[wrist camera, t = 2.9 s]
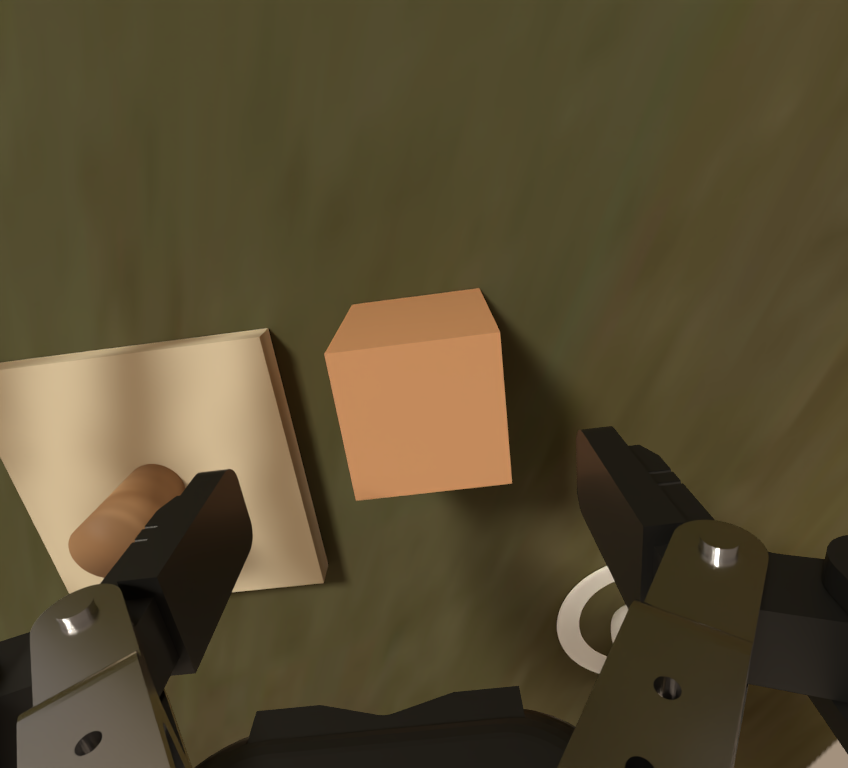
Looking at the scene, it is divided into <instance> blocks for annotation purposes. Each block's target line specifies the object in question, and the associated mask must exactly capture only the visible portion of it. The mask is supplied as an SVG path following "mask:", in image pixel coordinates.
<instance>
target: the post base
mask: <svg viewBox="0 0 848 768" xmlns="http://www.w3.org/2000/svg"><path fill="white" fill-rule="evenodd" d="M0 457H1V459H2V461H3V463H4V465H5V467H6V469H7V471H8V473H9V475H10V477H11V479H12V481H13V483H14V485H15V487H16V489H17V491H18V493H19V495H20V497H21V499H22V501H23V503H24V505H25V507H26V509H27V511H28V513H29V515H30V517H31V519H32V521H33V523H34V525H35V527H36V528H37V530H38V532H39V534H40V536H41V538H42V540H43V542H44V544H45V546H46V548H47V550H48V552H49V554H50V556H51V558H52V560H53V562H54V564H55V566H56V568H57V570H58V572H59V574H60V576H61V578H62V580H63V582H64V584H65V586H66V588H67V590H68V592H69V594H71V593H73V592H75V591H77V590H79V589H82V588H85V587H88V586H92V585H96V584H100V583H101V582H102V580H103V579H104V578H105V577H106V575H107V574H108V573H109V571H110V570H111V569H112V568H113V566H114V565H115V564H116V562H117V561H118V560H119V559H120V557H121V556H122V555H123V553H124V552H125V551H126V550H127V548H128V547H129V546H130V544H131V543H133V542H135V538H136V537H137V535H138V534H139V533H140V532H141V530H142V529H145V525H146V524H147V523H148V521H149V520H150V519H151V518H152V516H153V515H154V514H155V512H156V511H157V510H158V509H160V508H161V507H162V506H164V505H165V504H166V503H168V502H169V501H170V500H172V499H173V498H174V497H176V496H180V495H181V494H182V492H183V491H184V490H185V488H186V487H187V486H188V484H189V483H190V482H191V480H192V479H193V478H194V476H195V475H196V474H197V473H199V472H207V471H216V470H225V469H232V470H233V471H234V472H235V473H236V475H237V477H238V480H239V484H240V487H241V490H242V494H243V497H244V500H245V504H246V507H247V510H248V514H249V517H250V520H251V524H252V531H253V540H252V547H251V550H250V553H249V555H248V557H247V559H246V561H245V564H244V566H243V568H242V570H241V573H240V575H239V577H238V579H237V582H236V584H235V586H234V588H233V591H232V592H240V591H250V590H260V589H270V588H279V587H289V586H299V585H309V584H319V583H324V580H325V576H326V572H327V568H328V561H327V558H326V554H325V550H324V546H323V542H322V538H321V534H320V530H319V526H318V522H317V518H316V514H315V510H314V506H313V502H312V498H311V495H310V491H309V487H308V483H307V479H306V475H305V471H304V467H303V463H302V459H301V455H300V451H299V447H298V443H297V439H296V436H295V432H294V428H293V424H292V420H291V416H290V412H289V408H288V404H287V400H286V396H285V392H284V388H283V384H282V380H281V376H280V373H279V369H278V365H277V361H276V357H275V353H274V349H273V345H272V341H271V337H270V333H269V329H268V328H265V329H258V330H250V331H242V332H234V333H227V334H219V335H211V336H203V337H195V338H188V339H180V340H172V341H164V342H157V343H149V344H141V345H133V346H126V347H118V348H110V349H102V350H95V351H87V352H79V353H71V354H63V355H56V356H48V357H40V358H32V359H25V360H17V361H9V362H1V363H0Z"/></svg>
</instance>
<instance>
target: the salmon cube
mask: <svg viewBox="0 0 848 768" xmlns="http://www.w3.org/2000/svg"><path fill="white" fill-rule="evenodd" d="M324 355H325V359H326V364H327V368H328V373H329V378H330V382H331V387H332V392H333V396H334V401H335V405H336V410H337V415H338V419H339V424H340V429H341V433H342V438H343V443H344V447H345V452H346V456H347V461H348V466H349V470H350V475H351V480H352V484H353V489H354V493H355V498H356V501H358V500H367V499H377V498H386V497H395V496H404V495H413V494H422V493H431V492H440V491H449V490H458V489H467V488H476V487H486V486H495V485H504V484H512V476H511V463H510V450H509V438H508V425H507V412H506V400H505V387H504V374H503V362H502V349H501V336H500V331H499V329H498V326H497V324H496V322H495V320H494V318H493V316H492V314H491V312H490V310H489V307H488V305H487V303H486V301H485V299H484V297H483V295H482V293H481V291H480V288H476V289H469V290H461V291H453V292H446V293H438V294H430V295H423V296H415V297H407V298H399V299H392V300H384V301H376V302H369V303H361V304H353V305H352V306H351V308H350V310H349V311H348V313H347V315H346V317H345V318H344V320H343V322H342V324H341V325H340V327H339V329H338V331H337V333H336V334H335V336H334V338H333V340H332V341H331V343H330V345H329V347H328V349H327V350H326V352H325V354H324Z"/></svg>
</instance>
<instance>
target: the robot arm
mask: <svg viewBox="0 0 848 768" xmlns="http://www.w3.org/2000/svg"><path fill="white" fill-rule="evenodd" d="M576 455H577V494H578V501H579V505H580V509H581V512H582V515H583V517H584V519H585V521H586V523H587V525H588V527H589V530H590V532H591V534H592V536H593V538H594V540H595V542H596V544H597V546H598V548H599V550H600V552H601V554H602V556H603V558H604V560H605V562H606V564H607V567H608V569H609V571H610V573H611V575H612V577H613V579H614V581H615V583H616V585H617V587H618V589H619V591H620V593H621V595H622V597H623V599H624V602H625V604H626V606H627V608H628V611H627V614H626V616H625V618H624V620H623V623H622V625H621V627H620V629H619V631H618V634H617V636H616V638H615V640H614V643H613V645H612V647H611V649H610V651H609V654H608V656H607V658H606V660H605V663H604V665H603V667H602V669H601V671H600V674H599V676H598V678H597V680H596V683H595V685H594V687H593V689H592V691H591V694H590V696H589V698H588V700H587V703H586V705H585V707H584V709H583V712H582V714H581V716H580V718H579V720H578V723H577V725H576V727H575V726H573V725H571V724H570V723H568V722H565V721H563V720H561V719H558V718H556V717H554V716H551V715H548V714H544V713H541V712H537V711H533V710H527V709H523V705H522V700H521V695H520V690H519V686H513V687H503V688H493V689H482V690H472V691H462V692H453V693H450V694H447V695H444V696H442V697H439V698H436V699H433V700H430V701H427V702H425V703H422V704H419V705H416V706H413V707H410V708H408V709H405V710H402V711H399V712H396V713H393V714H390V715H375V714H369V713H363V712H357V711H351V710H346V709H340V708H334V707H328V706H322V705H317V706H307V707H296V708H286V709H276V710H265V711H257V712H256V716H255V719H254V722H253V726H252V729H251V732H250V736H249V737H246V738H244V739H241V740H239V741H237V742H235V743H233V744H231V745H229V746H227V747H225V748H223V749H222V750H220V751H218V752H216V753H215V754H213V755H211V756H210V757H208V758H207V759H206V760H204V761H203V762H201V763H200V764H199V765H197V766H196V767H195V768H734V763H735V757H736V752H737V746H738V740H739V735H740V729H741V724H742V718H743V712H744V707H745V701H746V695H747V690H748V684H752V685H758V686H763V687H768V688H773V689H778V690H784V691H789V692H794V693H799V694H805V695H808V696H809V698H810V699H811V701H812V702H813V704H814V705H815V707H816V708H817V710H818V711H819V713H820V714H821V716H822V717H823V718H824V720H825V721H826V723H827V724H828V726H829V727H830V729H831V730H832V732H833V733H834V735H835V736H836V738H837V739H838V740H839V742H840V743H841V745H842V746H843V748H844V749H845V751H846V752H847V754H848V535H846V536H841V537H838V538H836V539H834V540H832V541H831V542H830V543H829V545H828V547H827V552H826V556H825V559H817V558H809V557H800V556H791V555H782V554H776V553H771V552H767V549H766V548H765V546H764V544H763V543H762V542H761V541H760V540H759V539H758V538H757V537H755V536H754V535H753V534H751V533H750V532H748V531H746V530H744V529H742V528H740V527H738V526H735V525H733V524H729V523H726V522H721V521H715V520H714V519H713V518H712V516H711V515H710V514H709V513H708V512H707V511H706V510H705V508H704V507H703V506H702V505H701V504H700V503H699V501H698V500H697V499H696V498H695V497H694V496H693V494H692V493H691V492H690V491H689V490H688V489H687V488H686V486H685V485H684V484H681V481H680V479H679V478H678V477H677V476H676V475H675V474H674V472H671V469H670V468H669V467H668V465H667V464H666V463H665V462H664V461H663V460H662V459H661V457H660V456H659V455H657V454H655V453H653V452H652V451H650V450H648V449H646V448H644V447H642V446H641V445H633V446H628V445H627V444H626V443H625V442H624V440H623V439H622V438H621V436H620V435H619V434H618V433H617V431H616V430H615V429H614V428H613V427H612V426H609V427H600V428H592V429H583V430H578V432H577V437H576ZM252 540H253V531H252V524H251V520H250V517H249V514H248V510H247V507H246V504H245V500H244V497H243V494H242V490H241V487H240V484H239V480H238V477H237V475H236V473H235V472H234V471H233V470H232V469H225V470H216V471H207V472H199V473H197V474H196V475H195V476H194V478H193V479H192V480H191V482H190V483H189V484H188V486H187V487H186V488H185V490H184V491H183V492H182V494H181V495H180V496H176V497H174V498H173V499H172V500H170V501H169V502H168V503H166V504H165V505H164V506H162V507H161V508H160V509H158V510H157V511H156V512H155V514H154V515H153V516H152V518H151V519H150V520H149V521H148V523H147V524H146V525H145V529H142V530H141V532H140V533H139V534H138V535H137V537H136V538H135V542H133V543H131V544H130V546H129V547H128V548H127V550H126V551H125V552H124V553H123V555H122V556H121V557H120V559H119V560H118V561H117V562H116V564H115V565H114V566H113V568H112V569H111V570H110V571H109V573H108V574H107V575H106V577H105V578H104V579H103V580H102V582H101V583H100V584H96V585H92V586H88V587H85V588H82V589H79V590H77V591H75V592H73V593H71V594H69V595H67V596H65V597H63V598H62V599H60V600H58V601H57V602H56V603H54V604H53V605H51V606H50V607H49V608H48V609H47V610H46V611H44V612H43V613H42V614H41V615H40V617H39V618H38V619H37V620H36V622H35V623H34V625H33V626H32V629H31V631H30V632H29V633H26V634H22V635H19V636H16V637H13V638H10V639H7V640H4V641H1V642H0V768H192V765H191V762H190V759H189V756H188V753H187V751H186V748H185V745H184V742H183V739H182V736H181V733H180V730H179V727H178V724H177V721H176V718H175V715H174V712H173V709H172V706H171V703H170V700H169V698H168V695H167V693H166V691H165V689H164V688H165V686H166V683H167V681H168V679H169V677H170V676H172V675H182V674H192V673H196V671H197V669H198V667H199V665H200V662H201V660H202V658H203V656H204V653H205V651H206V649H207V647H208V644H209V642H210V640H211V638H212V635H213V633H214V631H215V629H216V626H217V624H218V622H219V620H220V617H221V615H222V613H223V611H224V609H225V606H226V604H227V602H228V600H229V597H230V595H231V593H232V591H233V588H234V586H235V584H236V582H237V579H238V577H239V575H240V573H241V570H242V568H243V566H244V564H245V561H246V559H247V557H248V555H249V553H250V550H251V547H252Z"/></svg>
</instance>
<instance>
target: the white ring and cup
mask: <svg viewBox="0 0 848 768" xmlns="http://www.w3.org/2000/svg"><path fill="white" fill-rule="evenodd" d="M612 582H614V579H613V577H612V575H611V573H610V571H609V569H608V567H607V566H606V567H603V568H601V569H599V570H597V571H595V572H593V573H592V574H590V575H589V576H587V577H586V578H584V579H583V580H582V581H581V582H579V583H578V584H577V585H576V586H575V587H574V588H573V589H572V590H571V591H570V593H569V594H568V595H567V597H566V598H565V600H564V602H563V603H562V605H561V608H560V610H559V614H558V618H557V634H558V638H559V641H560V643H561V645H562V647H563V649H564V651H565V652H566V653H567V654H568V656H569V657H570V658H571V659H572V660H574V661H575V662H576V663H577V664H579V665H580V666H582V667H584V668H586V669H588V670H590V671H593V672H596V673H599V674H600V671H601V669H602V667H603V665H604V663H605V660H606V658H607V656H605V655H602V654H600V653H598V652H596V651H595V650H593V649H592V648H591V647H590V646H588V645H587V643H586V642H585V641H584V639H583V638H582V635H581V633H580V629H579V619H580V614H581V611H582V609H583V607H584V605H585V604H586V602H587V601H588V600H589V599H590V597H591V596H592V595H593V594H595V593H596V592H597V591H598V590H600V589H601V588H603V587H604V586H606V585H608V584H610V583H612ZM627 611H628V608H627V606H626V605H625V606H623V607H621V608H619V609H618V610H617V611H616V612H615V613H614V615H613V617H612V621H611V636H612V642H613V643H614V640H615V638H616V636H617V634H618V631H619V629H620V627H621V625H622V623H623V620H624V618H625V616H626V614H627Z"/></svg>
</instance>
